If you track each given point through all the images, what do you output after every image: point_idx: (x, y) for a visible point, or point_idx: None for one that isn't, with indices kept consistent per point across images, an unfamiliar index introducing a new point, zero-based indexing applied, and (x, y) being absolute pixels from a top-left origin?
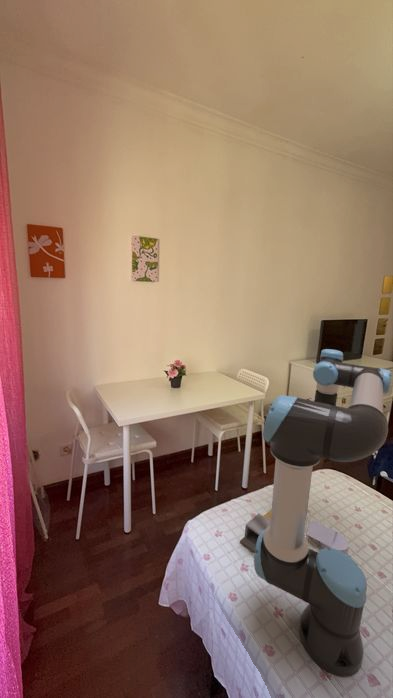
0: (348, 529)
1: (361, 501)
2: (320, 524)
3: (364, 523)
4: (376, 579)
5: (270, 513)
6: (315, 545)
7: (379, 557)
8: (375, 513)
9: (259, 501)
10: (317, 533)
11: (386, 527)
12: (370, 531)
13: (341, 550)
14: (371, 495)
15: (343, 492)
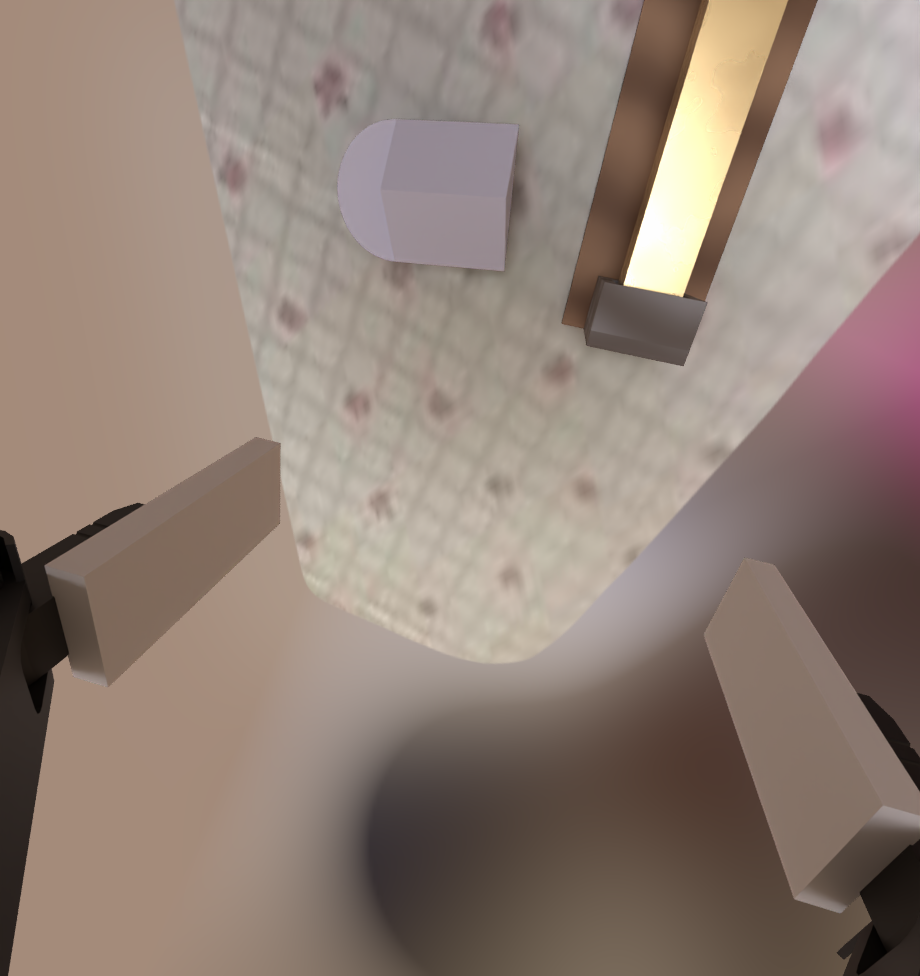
0: (382, 360)
1: (378, 556)
2: (456, 190)
3: (342, 434)
4: (237, 131)
5: (758, 19)
6: None
7: (259, 271)
8: (324, 514)
9: (815, 284)
10: (465, 148)
11: None
12: (315, 401)
13: (354, 140)
14: (357, 607)
15: (445, 576)
